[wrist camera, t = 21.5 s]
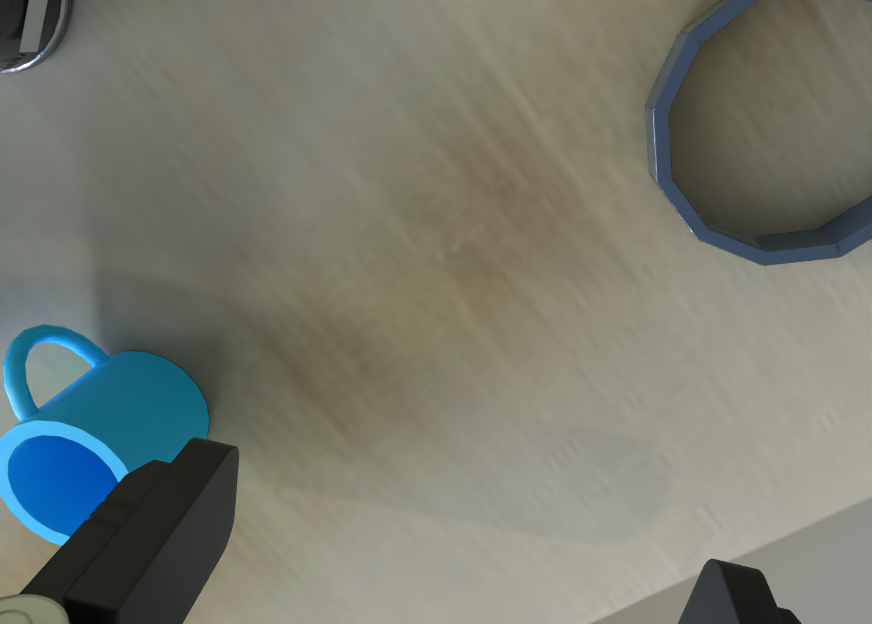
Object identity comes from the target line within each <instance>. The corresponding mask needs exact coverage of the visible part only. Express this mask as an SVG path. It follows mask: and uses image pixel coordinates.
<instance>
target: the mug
mask: <svg viewBox="0 0 872 624" xmlns="http://www.w3.org/2000/svg"><path fill="white" fill-rule="evenodd" d="M41 342H52V343H58V344H60V345H62V346H65V347H67V348H69V349H72V350H73V351H74V352H76V353H77V354H78V355H80V356H81V357H82V358H84V359H85V360H86V361H87V362H88V363H89V364H90V365H91V366H92V367H93V368H92V369H91V370H90V371H88V372H87V373H86V374H84V375H83V376H82V377H80V378H79V379H77V380H76V381H75V382H73V383H72V384H71V385H69V386H68V387H67V388H65V389H64V390H63V391H61V392H60V393H59V394H57V395H56V396H55V397H53V398H52V399H51V400H49V401H48V402H47V403H45V404H44V405H43V406H41V407H40V408H39V409H38V408H37V407H36V405H35V404H34V402H33V399H32V396H31V393H30V391H29V388H28V385H27V382H26V369H25V363H26V359H27V356H28V352H29V350H30V349H31V348H32V347H33V346H34V345H35V344H38V343H41ZM3 370H4V385H5V390H6V392H7V395H8V398H9V401H10V404H11V407H12V409H13V412H14V413H15V415H16V416H17V418H18V419H19V421H20V423H18V424H17V425H16V426H14V427H13V428H12V429H11V430H10V431H8V432H7V433H6V434H5V435H3V436H2V437H1V438H0V496H1V497H2V499H3V500H4V502H5V504H6V505H7V507H8V508H9V510H10V511H11V513H12V514H13V515H15V516H16V517H17V518H18V519H19V520H20V521H21V522H22V523H23V524H24V525H25V526H26V527H27V528H28V529H29V530H31V531H33V532H34V533H36V534H38V535H39V536H41V537H43V538H44V539H46V540H48V541H49V542H52V543H55V544H58V545H61V546H63V544H64V543H65V542H66V541H67V540H68V539H69V538H70V537H71V536H72V534H73V533H74V532H75V531H76V530H77V529H78V528H79V527H80V525H81V524H82V523H83V522H84V521H85V520H88V519H89V515H90V514H91V513H92V512H93V511H94V510H95V509H96V507H97V506H98V505H99V504H100V503H101V502H104V501H105V499H106V496H107V495H108V494H109V493H110V492H111V491H112V490H113V488H114V487H115V486H116V485H117V484H118V483H119V482H120V481H121V479H122V478H123V477H124V476H125V475H127V474H128V473H130V472H132V471H134V470H136V469H137V468H139V467H141V466H143V465H145V464H146V463H148V462H150V461H152V460H154V459H155V460H159V461H164V462H168V463H171V462H172V461H173V460H174V458H175V457H176V456H177V455H178V453H179V452H180V451H181V450H182V449H183V447H184V446H185V445H186V444H187V442H188V441H189V440H190V439H192V438H193V437H198V438H202V439H206V438H207V433H208V428H209V422H210V421H209V415H208V409H207V404H206V402H205V400H204V398H203V396H202V394H201V392H200V390H199V388H198V386H197V385H196V384H195V383H194V382H193V380H192V379H191V378H190V377H189V376H188V375H187V374H186V373H185V372H184V371H183V370H182V369H181V368H179V367H177V366H176V365H174V364H173V363H171V362H170V361H168V360H167V359H165V358H162V357H159V356H156V355H153V354H150V353H147V352H137V351H124V352H121V353H118V354H114V355H111V356H107V355H106V354H105V353H104V352H103V351H102V350H101V349H100V348H99V347H97V346H96V345H95V344H94V343H92V342H91V341H90V340H88V339H87V338H86V337H85V336H83V335H81V334H78V333H76V332H74V331H72V330H70V329H68V328H65V327H60V326H53V325H46V324H45V325H40V326H36V327H33V328H29V329H26V330H24V331H22V332H21V333H20V334H19V335H18V336H17V337H16V338H15V339H14V340H13V341H12V342H11V343H10V345H9V347H8V350H7V353H6V357H5V360H4V363H3Z"/></svg>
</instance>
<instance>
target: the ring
mask: <svg viewBox="0 0 872 624" xmlns="http://www.w3.org/2000/svg"><path fill="white" fill-rule="evenodd" d="M757 1H758V0H720V1H719V2H717V3H716V4H715V5H714V6H712V7H711V8H710V9H708V10H707V11H706V12H705V13H703V14H702V15H701V16H700V17H698V18H697V19H696V20H694V21H693V22H692V23H691V24H689V25H688V26H687V27H685V28H684V29H683V30H682V31H681V32H680V34H678V36H677V38H676V40H675V42H674V44H673V46H672V48H671V50H670V53H669V55H668V57H667V59H666V61H665V63H664V65H663V67H662V69H661V71H660V73H659V76H658V78H657V80H656V82H655V84H654V86H653V88H652V90H651V92H650V94H649V96H648V99H647V101H646V105H645V114H646V130H647V147H648V164H649V173H650V176H651V177H652V179H653V180H654V181H655V183H656V184H657V185H658V187H659V188H660V190H661V191H662V192H663V194H664V195H665V197H666V198H667V199H668V201H669V202H670V203H671V205H672V206H673V208H674V209H675V210H676V212H677V213H678V215H679V216H680V217H681V219H682V220H683V221H684V223H685V224H686V226H687V227H688V228H689V230H690V231H691V232H692V234H693V235H694V236H695V238H697V239H698V240H700V241H702V242H705V243H707V244H710V245H712V246H715V247H717V248H720V249H722V250H725V251H727V252H730V253H732V254H734V255H737V256H739V257H742V258H744V259H747V260H749V261H752V262H754V263H757V264H759V265H763V266H766V265H776V264H785V263H794V262H803V261H812V260H821V259H830V258H839V257H842V256H844V255H845V254H847V253H848V252H850V251H852V250H853V249H855V248H857V247H858V246H860V245H862V244H863V243H865V242H867V241H868V240H870V239H872V196H870V197H869V198H867V199H865V200H864V201H862V202H861V203H859V204H857V205H856V206H854V207H853V208H851V209H849V210H848V211H846V212H844V213H843V214H841V215H840V216H838V217H836V218H835V219H833V220H832V221H830V222H828V223H827V224H825V225H824V226H822V227H820V228H819V229H817V230H809V231H801V232H792V233H784V234H775V235H767V236H758V237H751V236H748V235H746V234H743V233H741V232H738V231H736V230H733V229H731V228H728V227H726V226H723V225H721V224H718V223H716V222H713V221H711V220H708V219H706V218H703V217H701V216H699V214H698V213H697V211H696V210H695V209H694V207H693V206H692V204H691V203H690V202H689V200H688V199H687V197H686V196H685V195H684V193H683V192H682V190H681V189H680V188H679V186H678V185H677V183H676V182H675V181H674V179H673V178H672V164H671V144H670V123H669V110H670V108H671V106H672V103H673V101H674V99H675V97H676V95H677V93H678V91H679V89H680V87H681V85H682V83H683V81H684V79H685V77H686V75H687V73H688V71H689V69H690V67H691V65H692V63H693V61H694V59H695V57H696V55H697V53H698V51H699V49H700V47H701V45H702V43H703V42H705V41H706V40H707V39H709V38H710V37H711V36H712V35H714V34H715V33H716V32H718V31H719V30H720V29H722V28H723V27H724V26H726V25H727V24H728V23H729V22H731V21H732V20H733V19H735V18H736V17H737V16H739V15H740V14H741V13H742V12H744V11H745V10H746V9H748V8H749V7H750V6H752V5H753V4H754V3H756V2H757ZM866 1H869V2H871V3H872V0H866Z"/></svg>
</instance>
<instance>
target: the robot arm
mask: <svg viewBox="0 0 872 624" xmlns="http://www.w3.org/2000/svg"><path fill="white" fill-rule="evenodd" d="M71 4H72V0H0V73H13V72H19V71H23V70H27V69H29V68H32V67H34V66H36V65H38V64H39V63H41V62H42V61H44V60H45V59H46V58H47V57H48V56H49V55H50V54H51V53H52V52H53V51H54V50H55V49H56V47H57V46H58V44H59V43H60V41H61V39H62V37H63V35H64V33H65V31H66V28H67V25H68V22H69V17H70V13H71ZM238 465H239V450H238V447H236V446H232V445H228V444H224V443H219V442H215V441H211V440H207V439H202V438H198V437H193V438H192V439H190V440H189V441H188V442H187V444H186V445H185V446H184V447H183V449H182V450H181V451H180V452H179V453H178V455H177V456H176V457H175V458H174V460H173V461H172V462H171V463H168V462H164V461H159V460H155V459H154V460H152V461H150V462H148V463H146V464H145V465H143V466H141V467H139V468H137V469H136V470H134V471H132V472H130V473H128V474H127V475H125V476H124V477H123V478H122V479H121V481H120V482H119V483H118V484H117V485H116V486H115V487H114V488H113V490H112V491H111V492H110V493H109V494H108V495H107V496H106V499H105V501H104V502H101V503H100V504H99V505H98V506H97V507H96V509H95V510H94V511H93V512H92V513H91V514H90V515H89V519H88V520H85V521H84V522H83V523H82V524H81V525H80V527H79V528H78V529H77V530H76V531H75V532H74V533H73V534H72V536H71V537H70V538H69V539H68V540H67V541H66V542H65V543H64V544H63V546H62V547H61V548H60V549H59V550H58V551H57V552H56V553H55V555H54V556H53V557H52V558H51V559H50V560H49V561H48V562H47V564H46V565H45V566H44V567H43V568H42V569H41V570H40V571H39V572H38V574H37V575H36V576H35V577H34V578H33V579H32V580H31V581H30V583H29V584H28V585H27V586H26V587H25V588H24V589H23V590H22V591H21V592H20V593H19V594H17V595H11V596H5V597H1V598H0V624H182V623H183V622H184V620H185V618H186V617H187V615H188V613H189V611H190V610H191V608H192V606H193V604H194V603H195V601H196V599H197V597H198V596H199V594H200V592H201V591H202V589H203V587H204V585H205V584H206V582H207V580H208V578H209V577H210V575H211V573H212V572H213V570H214V568H215V566H216V565H217V563H218V561H219V559H220V558H221V556H222V554H223V552H224V550H225V548H226V546H227V543H228V540H229V537H230V534H231V531H232V527H233V522H234V516H235V503H236V491H237V478H238ZM678 624H801V622H799V620H798V619H797V618H796V616H795V615H794V614H793V613H792V612H791V611H790V610H788V609H783V608H779V607H777V605H776V603H775V600H774V598H773V596H772V593H771V591H770V588H769V586H768V584H767V581H766V579H765V577H764V575H763V573H762V572H761V571H760V570H758V569H755V568H750V567H746V566H742V565H738V564H734V563H729V562H725V561H721V560H716V559H710V560H708V561H707V562H706V564H705V565H704V567H703V569H702V571H701V573H700V576H699V578H698V580H697V582H696V584H695V587H694V589H693V591H692V593H691V596H690V598H689V600H688V602H687V605H686V607H685V609H684V611H683V613H682V615H681V618H680V620H679V623H678Z"/></svg>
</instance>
